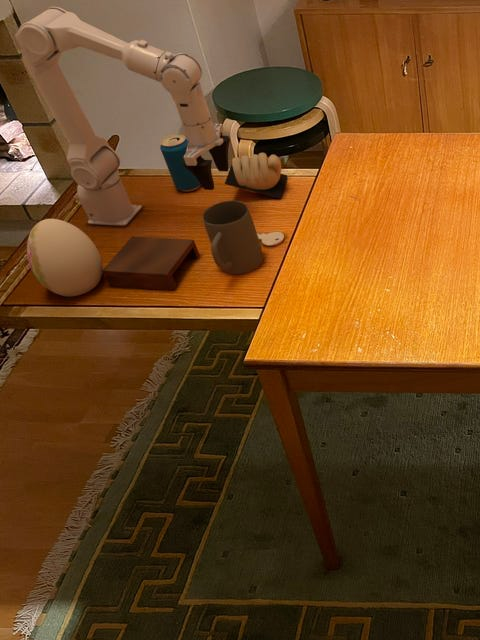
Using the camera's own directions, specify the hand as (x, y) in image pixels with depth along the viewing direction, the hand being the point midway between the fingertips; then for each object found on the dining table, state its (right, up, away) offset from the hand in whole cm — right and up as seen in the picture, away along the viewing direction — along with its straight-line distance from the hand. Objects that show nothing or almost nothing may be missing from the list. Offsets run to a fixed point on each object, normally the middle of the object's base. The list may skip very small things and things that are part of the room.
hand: (216, 179), depth 154 cm
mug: (+7, -20, -7) cm, 22 cm away
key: (+10, -10, +2) cm, 15 cm away
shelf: (-10, -20, -6) cm, 24 cm away
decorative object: (+5, +9, +16) cm, 19 cm away
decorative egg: (-25, -24, -8) cm, 35 cm away
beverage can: (-13, +3, +19) cm, 23 cm away
